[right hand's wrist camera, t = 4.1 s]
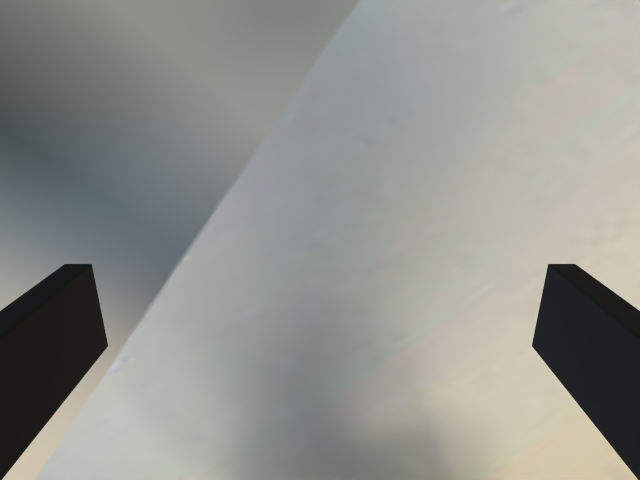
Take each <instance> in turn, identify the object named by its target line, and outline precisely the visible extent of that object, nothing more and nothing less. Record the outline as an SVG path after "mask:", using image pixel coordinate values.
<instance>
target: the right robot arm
mask: <svg viewBox="0 0 640 480" xmlns="http://www.w3.org/2000/svg"><path fill="white" fill-rule="evenodd" d="M107 347H108V343H107V338H106V333H105V328H104V323H103V318H102V313H101V309H100V303H99V298H98V293H97V289H96V284H95V278H94V274H93V269H92V264H64V265H63V266H62V267H60V268H59V269H58V270H56V271H55V272H53V273H52V274H51V275H49V276H48V277H47V278H45V279H44V280H42V281H41V282H40V283H38V284H37V285H36V286H34V287H33V288H31V289H30V290H29V291H27V292H26V293H24V294H23V295H22V296H20V297H19V298H18V299H16V300H15V301H13V302H12V303H11V304H9V305H8V306H7V307H5V308H4V309H2V310H1V311H0V480H2V479H3V477H4V476H5V475H6V474H7V472H8V471H9V470H10V469H11V467H12V466H13V465H14V463H15V462H16V461H17V460H18V459H19V457H20V456H21V455H22V453H23V452H24V451H25V450H26V448H27V447H28V446H29V445H30V443H31V442H32V441H33V440H34V438H35V437H36V436H37V435H38V433H39V432H40V431H41V430H42V428H43V427H44V426H45V425H46V423H47V422H48V421H49V419H50V418H51V417H52V416H53V414H54V413H55V412H56V411H57V409H58V408H59V407H60V406H61V404H62V403H63V402H64V401H65V399H66V398H67V397H68V396H69V394H70V393H71V392H72V391H73V389H74V388H75V387H76V386H77V384H78V383H79V382H80V380H81V379H82V378H83V377H84V375H85V374H86V373H87V372H88V370H89V369H90V368H91V367H92V365H93V364H94V363H95V362H96V360H97V359H98V358H99V356H100V355H101V354H102V353H103V352H104V350H105V349H106V348H107ZM532 347H533V348H534V349H535V350H536V352H537V353H538V354H539V355H540V357H541V358H542V359H543V360H544V362H545V363H546V364H547V365H548V367H549V368H550V369H551V370H552V372H553V373H554V374H555V375H556V377H557V378H558V379H559V380H560V382H561V383H562V384H563V386H564V387H565V388H566V389H567V391H568V392H569V393H570V394H571V396H572V397H573V398H574V399H575V401H576V402H577V403H578V404H579V406H580V407H581V408H582V409H583V411H584V412H585V413H586V414H587V416H588V417H589V418H590V420H591V421H592V422H593V423H594V425H595V426H596V427H597V428H598V430H599V431H600V432H601V433H602V435H603V436H604V437H605V438H606V440H607V441H608V442H609V443H610V445H611V446H612V447H613V448H614V450H615V451H616V452H617V453H618V455H619V456H620V457H621V459H622V460H623V461H624V462H625V464H626V465H627V466H628V467H629V469H630V470H631V471H632V472H633V474H634V475H635V476H636V477H637V479H638V480H640V311H639V310H638V309H636V308H635V307H633V306H632V305H631V304H629V303H628V302H627V301H625V300H624V299H622V298H621V297H620V296H618V295H617V294H616V293H614V292H613V291H611V290H610V289H609V288H607V287H606V286H604V285H603V284H602V283H600V282H599V281H598V280H596V279H595V278H593V277H592V276H591V275H589V274H588V273H587V272H585V271H584V270H582V269H581V268H580V267H578V266H577V265H576V264H548V269H547V273H546V278H545V283H544V288H543V293H542V298H541V303H540V308H539V313H538V318H537V323H536V328H535V333H534V338H533V343H532Z"/></svg>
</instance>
